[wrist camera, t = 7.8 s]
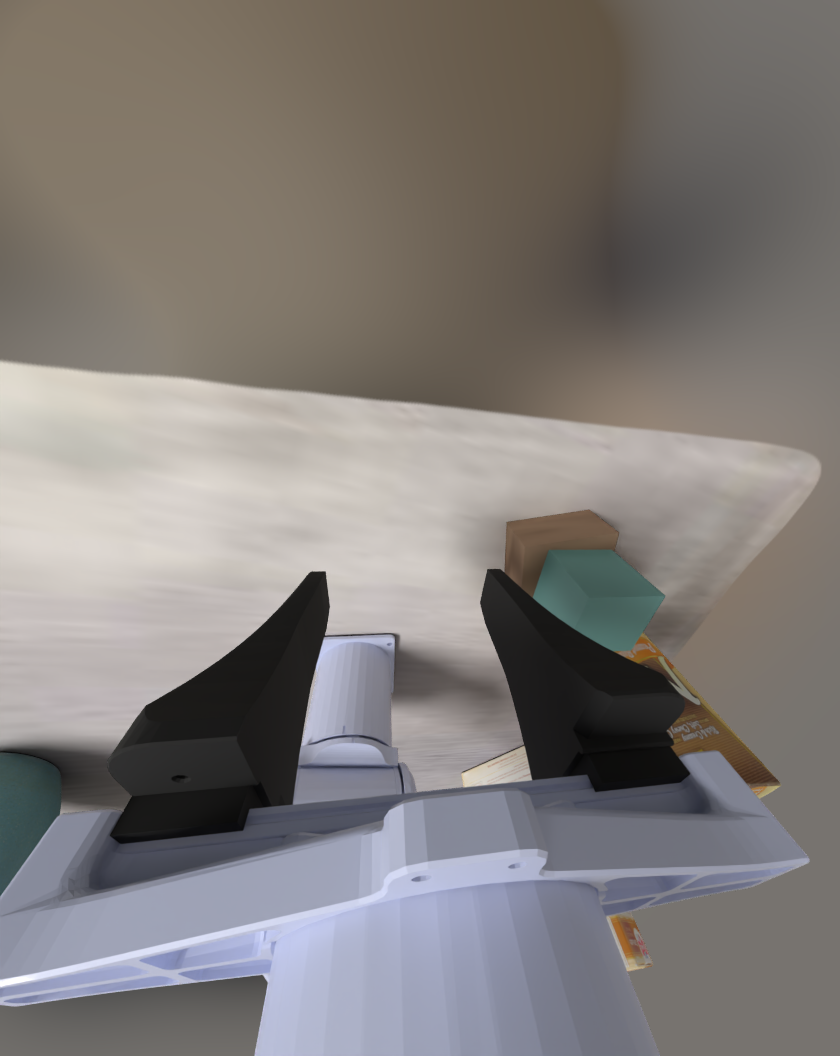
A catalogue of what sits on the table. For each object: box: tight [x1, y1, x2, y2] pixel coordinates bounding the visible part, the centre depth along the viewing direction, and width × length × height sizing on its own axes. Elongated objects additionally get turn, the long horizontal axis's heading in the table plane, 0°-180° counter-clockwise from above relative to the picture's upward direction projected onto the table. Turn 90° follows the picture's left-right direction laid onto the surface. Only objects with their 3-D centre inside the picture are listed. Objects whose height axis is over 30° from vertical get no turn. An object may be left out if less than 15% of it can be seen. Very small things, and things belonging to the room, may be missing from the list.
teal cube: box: [533, 550, 665, 651], centre depth 21 cm, size 5×5×5 cm
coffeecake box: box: [461, 746, 653, 972], centre depth 39 cm, size 15×7×20 cm, turn 127°
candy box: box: [614, 633, 781, 799], centre depth 24 cm, size 9×4×15 cm, turn 81°
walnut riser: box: [505, 510, 619, 598], centre depth 25 cm, size 7×7×4 cm
